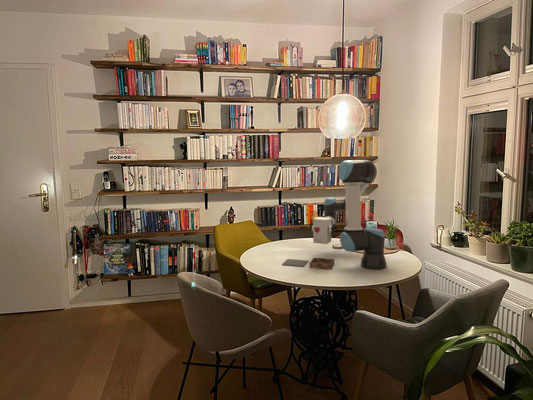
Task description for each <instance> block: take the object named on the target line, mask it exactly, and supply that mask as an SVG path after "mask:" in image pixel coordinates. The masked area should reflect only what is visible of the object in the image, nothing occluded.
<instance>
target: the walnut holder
mask: <svg viewBox="0 0 533 400" xmlns="http://www.w3.org/2000/svg"><path fill="white" fill-rule="evenodd" d="M334 266H335V258H327V257H326V258H325V257H316V256H315V257H312V259H311V260H310V261H309V268H311V269H321V270H332V268H333V267H334Z"/></svg>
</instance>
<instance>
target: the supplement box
mask: <svg viewBox="0 0 533 400" xmlns="http://www.w3.org/2000/svg"><path fill="white" fill-rule="evenodd" d="M331 222H332V218H327V217H325V216H317V217H314V218H313V222H312V223H313V231H312V232H313V233H312V234H313V235H312V236H313V237H312V240H313V241H312V243H314V244H322V245H328V244H329V243H331V242H332V231H331V232H329V227H330V226H331Z"/></svg>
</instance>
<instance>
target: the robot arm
mask: <svg viewBox="0 0 533 400" xmlns="http://www.w3.org/2000/svg"><path fill="white" fill-rule="evenodd" d="M337 172H338V173H337V175H338V178H339V180H341V181H342V184H343V185H344V191H345V192H344V193H345V194H344V195H345V198H344V199H337V198H336V197H334V196H333V197H332V196H329V197H328V196H327V197H325V198H324V217H327V218H332V222H331V226H330V227H329V232H331V233H332V231H333V230H338V223H337V220H338V219H337V217H336V215H337V214H336V213H337V212H344V211H345V227H343V232H341V233H340V235H339V241H340V245H341V247H342V249H343V250H344V251H346V252H351V253H352V252H360V251H363V254H362V257H361V260H360V266H361V267H362V268H365V269H369V270H383V269H386V268H387V265H388V264H387V260H386V257H385V238H386V237H385V232H384V231H385V230H383V229H380V228H376V227H375V228H374V227H365V228H363V227H362V226H361V225H362V223H361V222H362V220H361V219H362V218H361V217H362V216H361V213H362V212H361V211H362V210H361V196H362V195H363V193H364V192H365V190H366V189H367V188H368V187H369V185H370V184H372V183H373V182H374V181H375V179H376V177H377V174H378V170H377V166H376V165H375V163H373V161H371V160H368V159H348V160H347V159H346V160H343V161H342V162H341V163H340V165H339V167H338V171H337ZM309 228H310V229H311V231H312V232H313V222H312V223H310V224H309Z"/></svg>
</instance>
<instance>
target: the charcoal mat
mask: <svg viewBox="0 0 533 400" xmlns="http://www.w3.org/2000/svg"><path fill="white" fill-rule="evenodd" d="M308 263H310V261H309V260H308V259H307V260H305V259H295V258H293V259H292V258H287V259H285V261H284V262H283V263H282V264H281V266H288V267H295V268H299V267H300V268H305V267H306V265H307V264H308Z"/></svg>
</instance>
